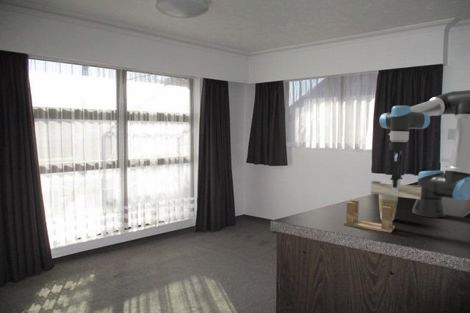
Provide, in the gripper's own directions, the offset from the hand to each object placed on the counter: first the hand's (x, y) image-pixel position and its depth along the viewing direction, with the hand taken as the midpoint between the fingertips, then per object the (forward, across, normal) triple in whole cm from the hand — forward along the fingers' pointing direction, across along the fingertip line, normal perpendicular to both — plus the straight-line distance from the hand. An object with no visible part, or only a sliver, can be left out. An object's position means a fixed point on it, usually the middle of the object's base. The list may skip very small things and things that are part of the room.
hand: (395, 194), depth 161 cm
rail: (+1, 0, 0) cm, 1 cm away
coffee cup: (+15, -17, -5) cm, 24 cm away
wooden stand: (+15, +4, -10) cm, 18 cm away
